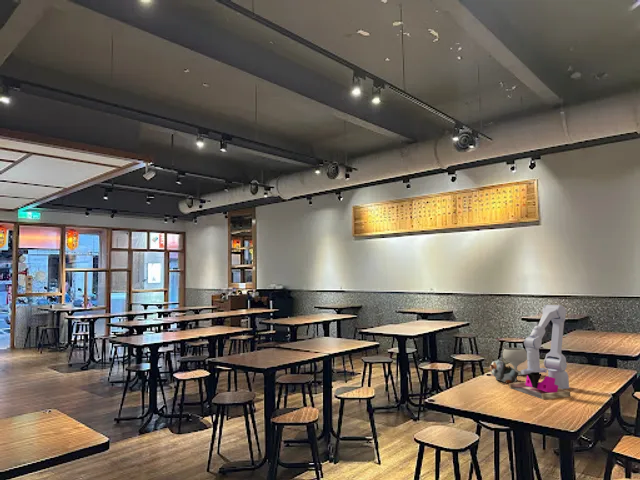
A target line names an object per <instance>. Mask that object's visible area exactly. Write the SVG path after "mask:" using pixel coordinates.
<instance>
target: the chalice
mask: <svg viewBox="0 0 640 480" xmlns="http://www.w3.org/2000/svg"><path fill="white" fill-rule="evenodd" d="M502 351H503V352H502V358H503V359H504V361H506V362H508V364H511V366H512V367H513V369H514V370H515V371H516V372H518V376H525V375H526V376H527V374H521V370H519V369H518V367H519V366H520V365H521V364H522V363H525V362H526V361H527V351H526V348H521V347H505V348H504V349H503V350H502Z"/></svg>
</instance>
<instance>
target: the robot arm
mask: <svg viewBox="0 0 640 480" xmlns="http://www.w3.org/2000/svg"><path fill="white" fill-rule="evenodd" d="M542 307H543V308H542V309H541V311H542V315H541V318H540V320H539V322H538V324H537V325H535V326H533V329H532V331H531V332H530V334H529V336H527V337H525V339H524V341H523V346H524V347H525V348H524V349H525V351H526V353H527V360H526V361H527V362H526V363H527V368H525V369H520V371H521V374H526V376H527V375H528V377H529V379H530V381H531V384H532V387H534V388H537V386H538V382H540V379H541V377H542V373H547V376H548V377H552V378H555V385H558V388H560V389H564V390H566V389H571V387H570V382H569V379H570V378H569V374H568V372H567V371H566V369H567V367H568V365H567V358H566V356H565V355H564V354H563V353H562V349H563V348H562V347H563V337H564V326H565V322H566V318H567V317H566V316H567V309H566V308H565V306H564V305H562V304H548V303H547V304H544V305H543V306H542ZM550 321H551V323H552V329H551V339H550V340H551V341H550V351H549V352H547V353H546V354H545V357H544V359H543V365H544V367H541V363H540V348H541V347H542V342H543V340H542V339H543V337H544V336H545V334H546V328H547V326H548V325H549V323H550Z"/></svg>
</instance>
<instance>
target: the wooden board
mask: <svg viewBox="0 0 640 480" xmlns="http://www.w3.org/2000/svg"><path fill="white" fill-rule="evenodd" d="M525 384H526V381H521V382H514V383H509V384H508V385H509V389H511V390H515V391H517V392H521V393H523V394H526V395H530V396H532V397H536V398H538V399H542V400H549V399H550V400H551V399H558V398H567V397H571V391H570V390H566V389H560V388H558V390H557V392H554V393H549V392H545V391H542V390H539V389H536V388H533V387H529V386H526V385H525Z"/></svg>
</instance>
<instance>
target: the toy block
mask: <svg viewBox="0 0 640 480" xmlns="http://www.w3.org/2000/svg"><path fill="white" fill-rule="evenodd" d="M525 382H526V384H525V385H526V386H529V387H532V384H531V381H530V379H529V377H528V375H527V374H526V380H525ZM533 388H534V387H533ZM536 389H539V390H542V391H545V392H549V393H554V392H557V390H558V385H555V378H552V377H548V375H545V376H544V379H543V380H542V381H541V382H540V381H539V382H538V386H537V388H536Z"/></svg>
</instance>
